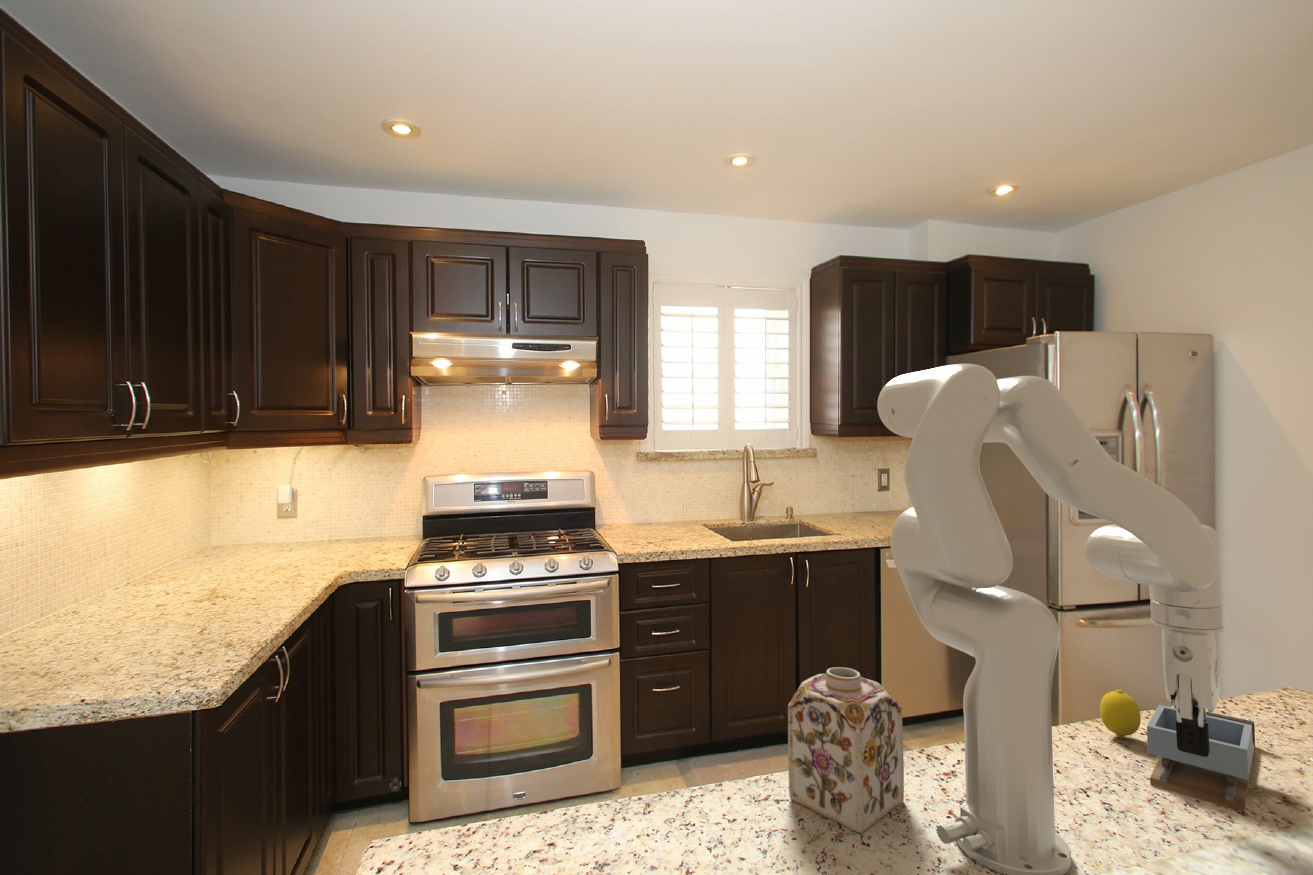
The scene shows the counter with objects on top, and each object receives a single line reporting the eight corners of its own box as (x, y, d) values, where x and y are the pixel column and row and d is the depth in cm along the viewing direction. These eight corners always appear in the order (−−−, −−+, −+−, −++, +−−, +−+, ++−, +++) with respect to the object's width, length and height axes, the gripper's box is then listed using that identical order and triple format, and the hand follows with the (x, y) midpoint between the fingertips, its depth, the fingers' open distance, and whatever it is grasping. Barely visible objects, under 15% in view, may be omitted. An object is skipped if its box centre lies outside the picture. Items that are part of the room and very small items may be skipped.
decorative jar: (786, 799, 89) (784, 671, 90) (833, 771, 97) (830, 652, 97) (863, 837, 80) (860, 694, 81) (908, 802, 88) (904, 672, 88)
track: (1244, 811, 84) (1243, 781, 84) (1150, 784, 91) (1149, 756, 92) (1255, 746, 102) (1254, 721, 103) (1175, 727, 110) (1175, 704, 110)
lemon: (1127, 730, 109) (1126, 684, 109) (1149, 745, 103) (1147, 696, 103) (1093, 730, 109) (1092, 683, 109) (1113, 744, 104) (1111, 695, 104)
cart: (1248, 794, 85) (1247, 749, 85) (1148, 767, 93) (1146, 725, 93) (1253, 766, 93) (1251, 724, 93) (1160, 742, 100) (1158, 704, 101)
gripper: (1217, 633, 78) (1226, 783, 77) (1227, 607, 88) (1235, 740, 88) (1141, 622, 83) (1148, 763, 83) (1159, 600, 93) (1166, 725, 93)
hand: (1193, 751), depth 85 cm, fingers closed
